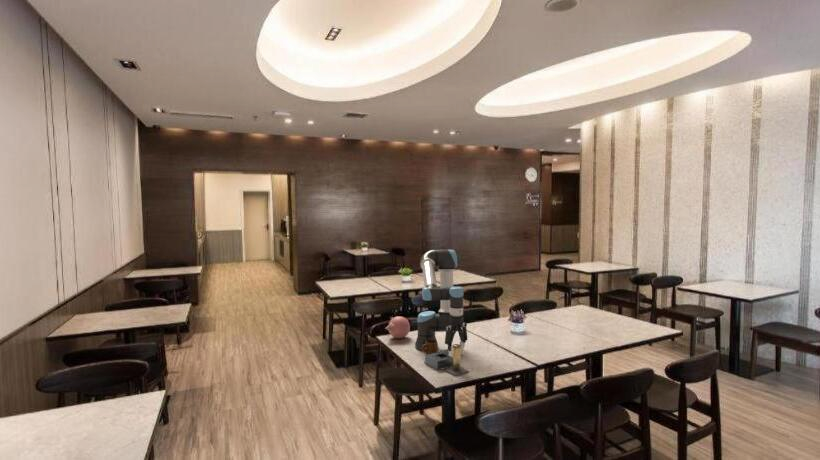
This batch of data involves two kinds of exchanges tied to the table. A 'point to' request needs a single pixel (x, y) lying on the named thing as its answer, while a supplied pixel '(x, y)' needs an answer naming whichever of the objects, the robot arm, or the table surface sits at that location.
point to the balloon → (398, 327)
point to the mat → (456, 373)
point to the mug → (430, 347)
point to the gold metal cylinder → (456, 357)
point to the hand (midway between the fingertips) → (456, 354)
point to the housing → (439, 360)
